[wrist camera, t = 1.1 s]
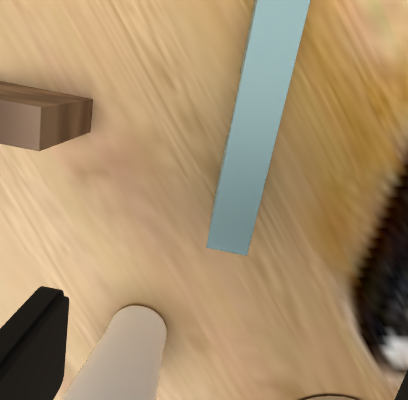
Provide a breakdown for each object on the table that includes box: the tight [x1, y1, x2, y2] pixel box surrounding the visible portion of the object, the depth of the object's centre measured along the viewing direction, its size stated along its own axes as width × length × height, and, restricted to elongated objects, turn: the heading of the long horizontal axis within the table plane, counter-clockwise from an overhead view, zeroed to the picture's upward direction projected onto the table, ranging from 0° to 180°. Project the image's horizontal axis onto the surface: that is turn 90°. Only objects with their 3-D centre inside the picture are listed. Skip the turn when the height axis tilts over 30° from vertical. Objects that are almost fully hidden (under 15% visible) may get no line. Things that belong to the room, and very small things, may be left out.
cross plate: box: [206, 0, 310, 256], centre depth 24 cm, size 16×2×8 cm, turn 170°
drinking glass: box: [61, 305, 167, 400], centre depth 27 cm, size 7×7×15 cm
